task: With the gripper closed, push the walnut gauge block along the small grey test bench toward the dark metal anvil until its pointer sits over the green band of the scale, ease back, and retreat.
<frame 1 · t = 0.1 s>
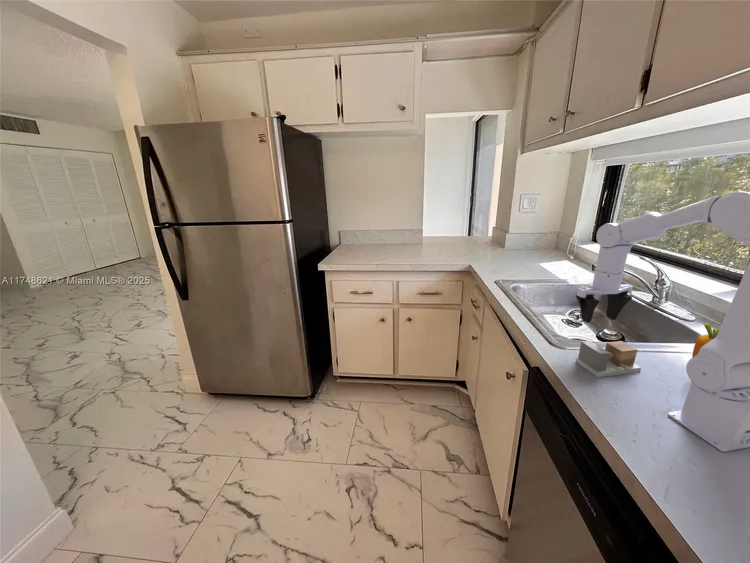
hand: (598, 319, 83), 10 cm above the worktop, tool pointing down, fingers open, 7 cm apart
gauge block: (621, 356, 78), point 3 cm above the worktop, slide at 0.0 cm
test bench: (606, 366, 80), on the worktop
carrot: (698, 380, 74), on the worktop
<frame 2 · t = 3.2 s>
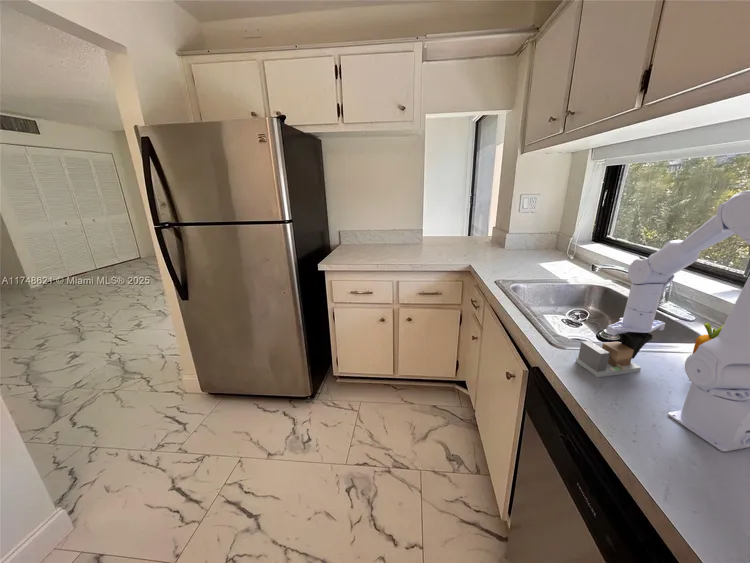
hand: (628, 356, 80), 2 cm above the worktop, tool pointing down, fingers closed
gauge block: (617, 356, 78), point 3 cm above the worktop, slide at 1.1 cm, touching gripper
everything else where it was.
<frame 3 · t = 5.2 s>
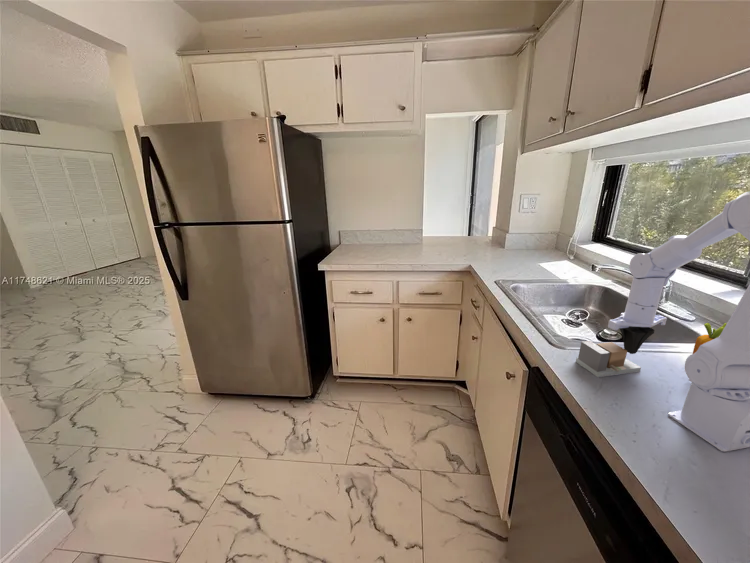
hand: (629, 351, 79), 4 cm above the worktop, tool pointing down, fingers closed
gauge block: (611, 357, 78), point 3 cm above the worktop, slide at 2.9 cm
everything else where it was.
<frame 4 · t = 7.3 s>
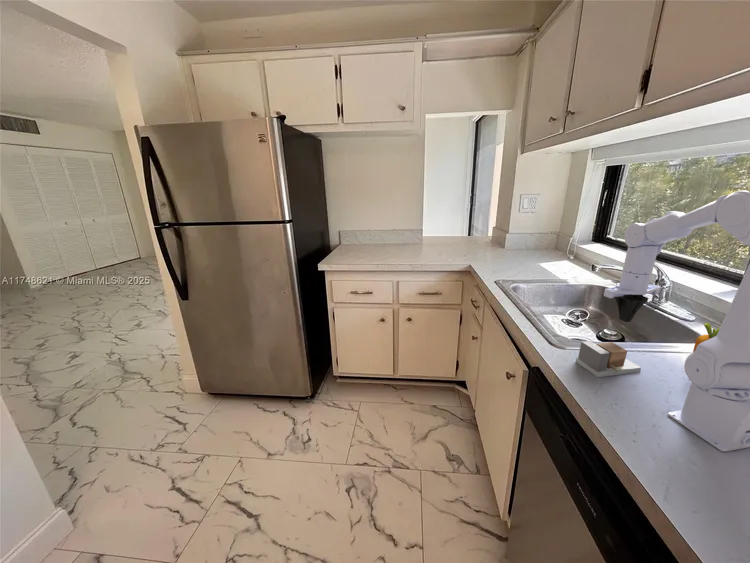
hand: (624, 320, 82), 10 cm above the worktop, tool pointing down, fingers closed
nothing on the worktop moved.
at the end: gauge block slide at 2.9 cm; the gripper is holding nothing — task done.
